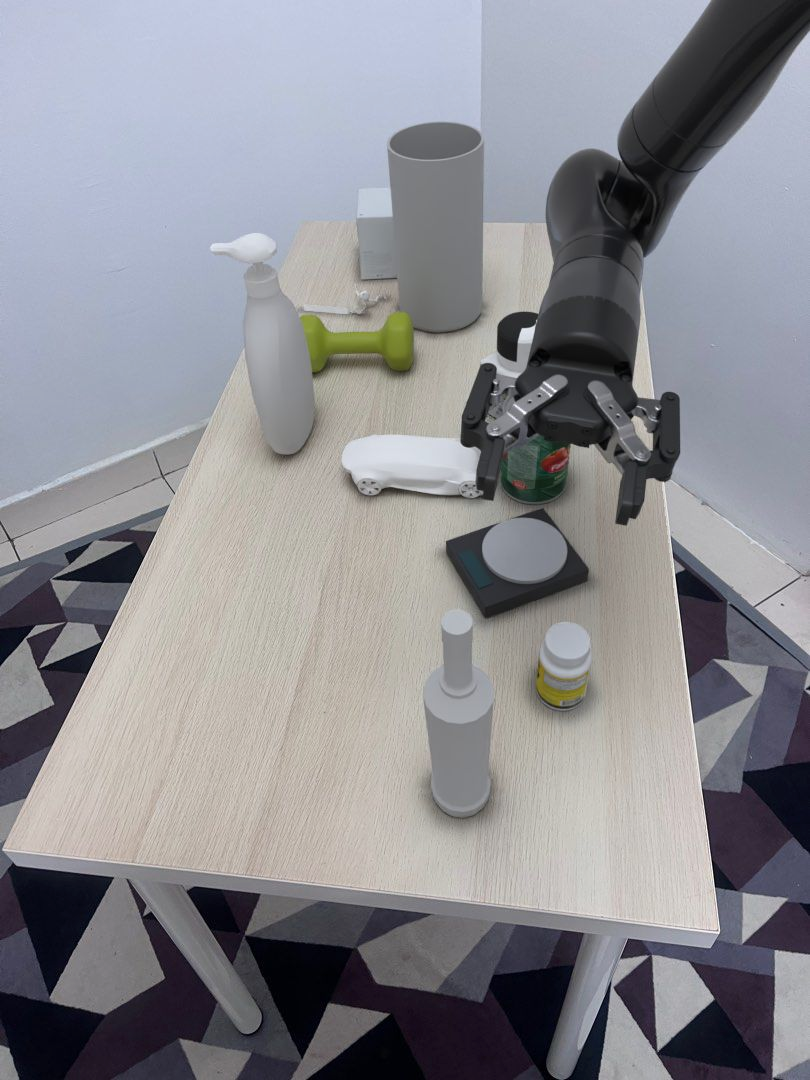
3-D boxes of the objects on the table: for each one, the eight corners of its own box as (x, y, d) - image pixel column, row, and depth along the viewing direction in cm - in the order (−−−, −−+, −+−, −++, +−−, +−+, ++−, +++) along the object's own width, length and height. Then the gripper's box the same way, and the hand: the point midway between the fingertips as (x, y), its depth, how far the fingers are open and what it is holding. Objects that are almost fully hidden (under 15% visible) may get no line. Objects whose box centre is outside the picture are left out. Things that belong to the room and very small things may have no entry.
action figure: (313, 300, 127) (297, 316, 122) (313, 266, 124) (297, 281, 118) (385, 311, 126) (372, 328, 120) (387, 278, 122) (374, 294, 117)
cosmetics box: (401, 278, 128) (396, 215, 121) (361, 281, 129) (354, 218, 121) (400, 246, 135) (396, 184, 128) (362, 248, 136) (356, 187, 128)
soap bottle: (272, 396, 109) (228, 204, 90) (330, 398, 108) (297, 204, 88) (244, 468, 100) (186, 270, 80) (306, 471, 99) (264, 271, 79)
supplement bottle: (547, 661, 78) (554, 609, 72) (593, 681, 76) (604, 630, 70) (526, 699, 75) (531, 648, 69) (573, 720, 74) (582, 670, 67)
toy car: (492, 454, 99) (493, 426, 95) (491, 499, 93) (491, 471, 90) (350, 452, 101) (345, 424, 97) (340, 495, 95) (335, 467, 92)
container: (478, 409, 105) (478, 323, 95) (518, 382, 108) (522, 297, 98) (522, 435, 101) (527, 348, 91) (562, 407, 104) (571, 320, 94)
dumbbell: (416, 347, 115) (414, 302, 110) (413, 380, 110) (410, 335, 105) (305, 348, 117) (297, 305, 111) (296, 382, 111) (287, 338, 106)
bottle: (433, 822, 68) (418, 658, 49) (429, 766, 71) (415, 592, 53) (493, 818, 68) (501, 652, 49) (487, 762, 71) (492, 587, 53)
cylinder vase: (421, 283, 127) (412, 117, 108) (494, 298, 123) (498, 127, 104) (386, 325, 120) (370, 153, 101) (462, 341, 115) (460, 166, 97)
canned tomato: (568, 505, 92) (578, 431, 84) (500, 504, 93) (502, 432, 85) (564, 458, 97) (572, 385, 89) (499, 459, 98) (501, 386, 90)
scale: (542, 519, 91) (543, 503, 89) (587, 581, 84) (590, 565, 82) (445, 552, 88) (445, 537, 86) (485, 619, 82) (485, 603, 80)
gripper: (494, 279, 57) (446, 446, 48) (698, 307, 55) (687, 488, 46) (487, 358, 63) (443, 519, 54) (671, 386, 61) (656, 559, 52)
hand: (555, 505), depth 50 cm, fingers open, 8 cm apart
